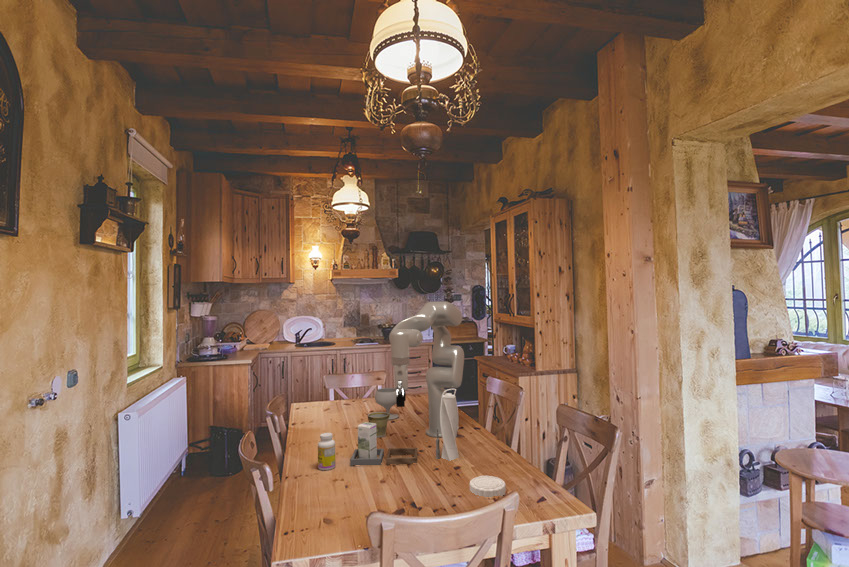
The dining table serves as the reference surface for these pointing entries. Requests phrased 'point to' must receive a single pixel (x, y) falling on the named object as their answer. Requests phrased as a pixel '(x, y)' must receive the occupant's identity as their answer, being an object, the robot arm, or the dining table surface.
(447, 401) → the skyscraper
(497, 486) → the mooncake
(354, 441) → the dining table surface
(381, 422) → the ceramic cup
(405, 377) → the robot arm
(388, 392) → the chalice
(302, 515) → the dining table surface
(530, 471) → the dining table surface
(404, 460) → the walnut frame
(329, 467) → the supplement bottle
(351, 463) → the grey frame
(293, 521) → the dining table surface
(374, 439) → the syrup box
